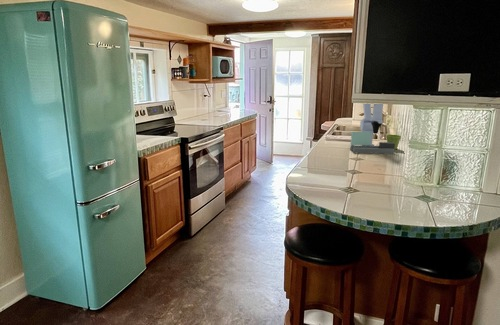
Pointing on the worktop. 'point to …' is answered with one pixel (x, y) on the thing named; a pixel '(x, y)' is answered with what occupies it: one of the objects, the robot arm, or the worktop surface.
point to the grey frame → (371, 149)
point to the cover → (360, 138)
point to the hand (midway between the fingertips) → (375, 133)
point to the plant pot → (393, 139)
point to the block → (386, 145)
